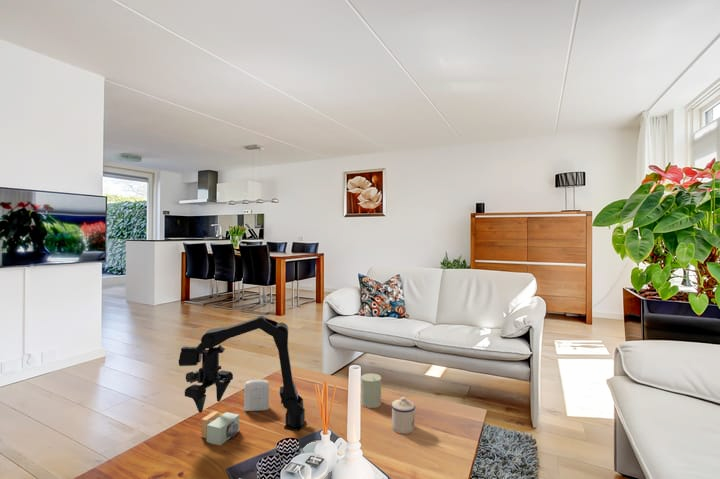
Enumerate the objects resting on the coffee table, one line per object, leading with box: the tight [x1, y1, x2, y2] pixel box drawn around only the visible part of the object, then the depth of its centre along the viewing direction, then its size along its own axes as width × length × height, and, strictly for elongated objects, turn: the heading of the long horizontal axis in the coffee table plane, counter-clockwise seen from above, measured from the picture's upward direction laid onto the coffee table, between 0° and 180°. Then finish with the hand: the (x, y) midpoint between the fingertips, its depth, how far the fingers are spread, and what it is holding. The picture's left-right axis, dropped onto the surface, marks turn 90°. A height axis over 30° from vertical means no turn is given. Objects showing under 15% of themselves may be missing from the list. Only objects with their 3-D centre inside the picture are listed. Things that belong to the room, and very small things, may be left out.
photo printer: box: [243, 379, 270, 412], centre depth 148 cm, size 10×4×12 cm, turn 98°
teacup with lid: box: [391, 396, 416, 435], centre depth 135 cm, size 12×9×12 cm
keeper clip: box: [200, 410, 220, 439], centre depth 129 cm, size 2×6×6 cm, turn 161°
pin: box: [209, 420, 238, 438], centre depth 127 cm, size 12×4×4 cm, turn 71°
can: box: [360, 372, 382, 409], centre depth 154 cm, size 9×9×12 cm
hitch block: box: [206, 411, 240, 446], centre depth 127 cm, size 6×10×6 cm, turn 161°
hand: (209, 406), depth 129 cm, fingers open, 9 cm apart
